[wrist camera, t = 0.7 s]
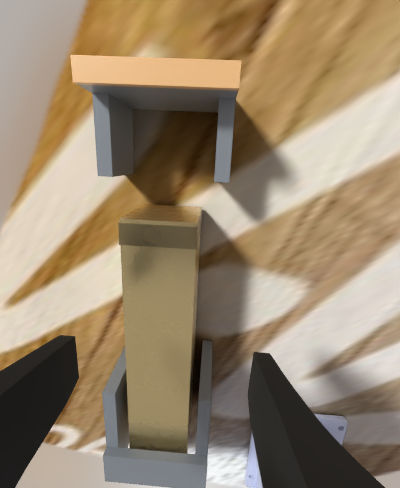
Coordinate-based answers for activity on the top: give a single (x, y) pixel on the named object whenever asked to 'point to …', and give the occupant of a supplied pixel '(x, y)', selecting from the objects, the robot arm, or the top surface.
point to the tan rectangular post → (160, 322)
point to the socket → (155, 101)
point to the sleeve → (146, 461)
